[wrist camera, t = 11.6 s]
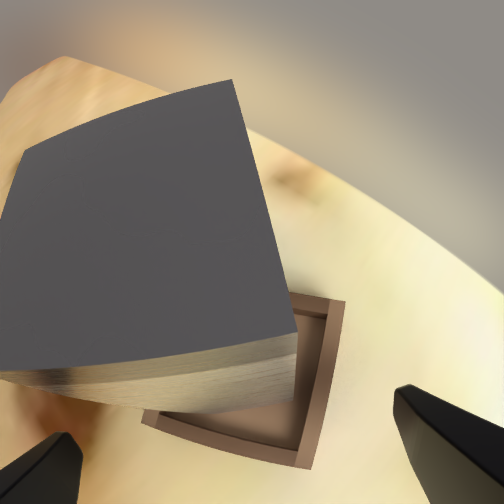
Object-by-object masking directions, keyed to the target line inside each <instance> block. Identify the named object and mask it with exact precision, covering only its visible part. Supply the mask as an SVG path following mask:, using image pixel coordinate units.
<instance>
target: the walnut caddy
mask: <svg viewBox="0 0 504 504" xmlns="http://www.w3.org/2000/svg"><path fill="white" fill-rule="evenodd" d="M289 296H290V300H291V305H292V309H293V313H294V317H295V321H296V325H297V330H298V341H297V356H296V370H295V383H294V395H293V400H292V401H288V402H283V403H278V404H273V405H268V406H262V407H257V408H251V409H245V410H239V411H233V412H226V413H219V414H201V413H185V412H172V411H161V410H151V409H145V410H144V414H143V417H142V421H141V423H143V424H145V425H148V426H150V427H153V428H155V429H158V430H161V431H163V432H166V433H169V434H172V435H174V436H177V437H180V438H183V439H186V440H189V441H192V442H195V443H198V444H202V445H205V446H208V447H211V448H215V449H218V450H222V451H225V452H229V453H233V454H237V455H241V456H245V457H249V458H253V459H257V460H261V461H266V462H271V463H275V464H280V465H286V466H291V467H297V468H302V469H309V470H311V467H312V464H313V460H314V456H315V453H316V449H317V445H318V441H319V437H320V433H321V429H322V424H323V420H324V416H325V411H326V407H327V402H328V398H329V393H330V388H331V383H332V378H333V373H334V368H335V363H336V357H337V352H338V346H339V340H340V334H341V328H342V322H343V315H344V309H345V301H339V300H333V299H326V298H320V297H315V296H309V295H303V294H297V293H291V292H289Z"/></svg>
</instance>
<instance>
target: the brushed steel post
mask: <svg viewBox="0 0 504 504" xmlns="http://www.w3.org/2000/svg"><path fill="white" fill-rule="evenodd" d="M297 341H298V330H297V325H296V321H295V317H294V313H293V309H292V305H291V300H290V296H289V292H288V288H287V284H286V280H285V276H284V272H283V268H282V264H281V260H280V256H279V252H278V248H277V244H276V240H275V236H274V232H273V228H272V225H271V221H270V217H269V213H268V209H267V205H266V201H265V198H264V194H263V190H262V186H261V183H260V179H259V175H258V171H257V168H256V164H255V160H254V156H253V153H252V149H251V145H250V142H249V138H248V135H247V131H246V127H245V124H244V120H243V117H242V113H241V110H240V106H239V102H238V99H237V95H236V92H235V88H234V85H233V82H232V79H230V80H226V81H221V82H216V83H212V84H208V85H204V86H199V87H195V88H191V89H188V90H184V91H180V92H176V93H173V94H169V95H166V96H162V97H159V98H155V99H152V100H149V101H146V102H142V103H139V104H136V105H133V106H130V107H127V108H124V109H121V110H119V111H116V112H113V113H110V114H107V115H105V116H102V117H99V118H97V119H94V120H92V121H89V122H87V123H84V124H82V125H79V126H77V127H74V128H72V129H70V130H67V131H65V132H63V133H60V134H58V135H56V136H54V137H51V138H49V139H47V140H45V141H43V142H41V143H39V144H36V145H34V146H32V147H30V148H28V149H26V150H25V151H24V153H23V156H22V158H21V161H20V163H19V166H18V168H17V171H16V174H15V176H14V179H13V182H12V185H11V188H10V191H9V194H8V197H7V200H6V203H5V206H4V209H3V212H2V216H1V219H0V379H2V380H6V381H9V382H12V383H16V384H19V385H23V386H27V387H30V388H34V389H38V390H42V391H46V392H51V393H55V394H59V395H64V396H69V397H73V398H78V399H84V400H89V401H94V402H100V403H106V404H113V405H119V406H126V407H134V408H142V409H151V410H161V411H172V412H185V413H201V414H219V413H226V412H233V411H239V410H245V409H251V408H257V407H262V406H268V405H273V404H278V403H283V402H288V401H292V400H293V395H294V383H295V370H296V356H297Z"/></svg>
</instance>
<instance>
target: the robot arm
mask: <svg viewBox="0 0 504 504" xmlns="http://www.w3.org/2000/svg"><path fill="white" fill-rule="evenodd" d="M393 416H394V419H395V422H396V425H397V428H398V430H399V433H400V436H401V438H402V441H403V444H404V447H405V450H406V452H407V455H408V458H409V461H410V463H411V466H412V468H413V470H414V472H415V474H416V476H417V478H418V480H419V482H420V484H421V486H422V488H423V490H424V492H425V494H426V496H427V498H428V500H429V502H430V504H504V428H503V427H500V426H498V425H496V424H494V423H491V422H489V421H487V420H485V419H483V418H480V417H478V416H476V415H474V414H472V413H470V412H468V411H465V410H463V409H461V408H459V407H457V406H455V405H453V404H451V403H448V402H446V401H444V400H442V399H440V398H438V397H436V396H434V395H432V394H430V393H428V392H426V391H424V390H422V389H420V388H418V387H416V386H414V385H411V384H408V385H405V386H402V387H399V388H397V389H396V390H395V392H394V404H393ZM82 462H83V453H82V450H81V449H80V447H79V446H78V444H77V443H76V442H75V440H74V439H73V437H72V436H71V435H70V434H69V433H68V432H62V431H57V432H55V433H53V434H52V435H50V436H49V437H47V438H46V439H45V440H43V441H42V442H40V443H39V444H37V445H36V446H35V447H33V448H32V449H30V450H29V451H27V452H26V453H25V454H23V455H22V456H20V457H19V458H17V459H16V460H14V461H13V462H11V463H10V464H9V465H7V466H6V467H4V468H3V469H1V470H0V504H77V500H78V493H79V485H80V477H81V469H82Z"/></svg>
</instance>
